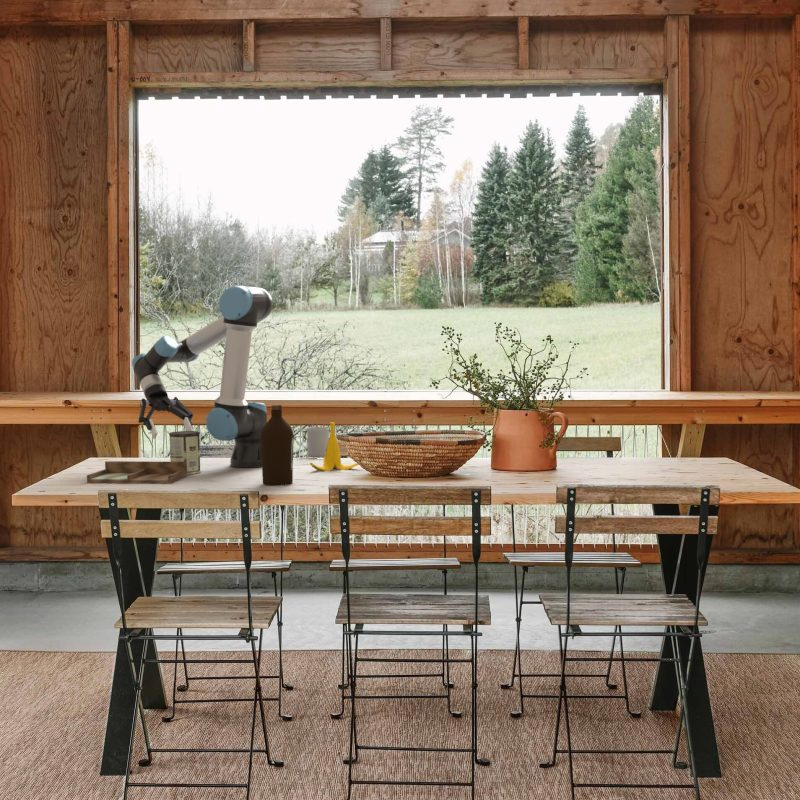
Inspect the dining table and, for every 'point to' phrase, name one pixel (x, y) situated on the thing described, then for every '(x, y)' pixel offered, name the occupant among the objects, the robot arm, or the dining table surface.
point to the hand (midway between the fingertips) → (173, 434)
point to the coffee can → (186, 449)
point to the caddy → (139, 472)
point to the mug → (317, 441)
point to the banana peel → (332, 454)
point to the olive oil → (277, 450)
